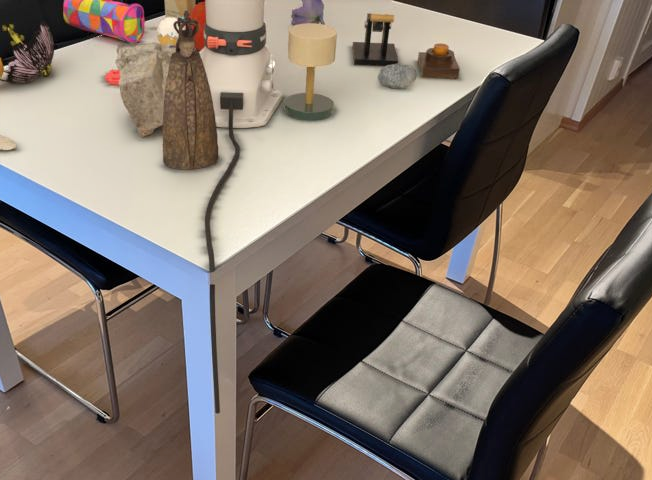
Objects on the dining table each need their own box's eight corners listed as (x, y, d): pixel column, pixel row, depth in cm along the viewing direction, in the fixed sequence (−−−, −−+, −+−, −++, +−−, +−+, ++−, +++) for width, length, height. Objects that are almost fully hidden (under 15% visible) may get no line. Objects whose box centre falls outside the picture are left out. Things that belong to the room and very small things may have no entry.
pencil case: (61, -20, 163) (90, -12, 170) (56, 22, 167) (85, 28, 174) (126, 0, 154) (153, 7, 162) (119, 44, 158) (147, 49, 165)
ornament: (150, 42, 155) (157, 5, 154) (160, 51, 162) (166, 16, 161) (179, 48, 155) (186, 11, 153) (187, 57, 162) (193, 22, 160)
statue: (188, 177, 115) (177, 17, 98) (158, 163, 118) (141, 6, 101) (224, 160, 120) (219, 5, 103) (194, 147, 123) (184, -5, 106)
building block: (105, 86, 143) (106, 72, 148) (144, 85, 144) (144, 71, 150) (104, 82, 142) (106, 68, 148) (143, 81, 143) (143, 67, 149)
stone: (88, 44, 122) (127, 74, 114) (172, 30, 130) (214, 57, 122) (98, 115, 131) (134, 147, 123) (175, 98, 139) (215, 127, 131)
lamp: (333, 121, 133) (340, 40, 123) (282, 119, 133) (284, 38, 123) (333, 101, 141) (339, 23, 130) (284, 99, 141) (287, 21, 130)
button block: (457, 79, 152) (461, 60, 149) (422, 77, 152) (425, 58, 149) (451, 63, 160) (455, 45, 157) (417, 61, 160) (420, 43, 157)
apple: (180, 52, 158) (176, 2, 151) (204, 39, 166) (202, -9, 158) (220, 61, 155) (218, 10, 148) (243, 47, 162) (243, -2, 155)
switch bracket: (397, 66, 157) (403, 25, 151) (354, 64, 157) (357, 23, 151) (393, 49, 166) (398, 9, 160) (352, 47, 166) (356, 8, 160)
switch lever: (393, 24, 147) (394, 11, 147) (370, 23, 147) (371, 10, 147) (387, 32, 158) (388, 20, 157) (366, 31, 158) (366, 19, 157)
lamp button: (448, 56, 152) (449, 48, 151) (433, 56, 152) (435, 47, 151) (446, 51, 155) (447, 43, 153) (432, 51, 155) (433, 43, 153)
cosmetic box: (166, 41, 165) (161, -16, 156) (175, 35, 168) (171, -20, 159) (190, 45, 163) (186, -12, 155) (198, 39, 166) (195, -16, 158)
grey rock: (416, 87, 148) (416, 62, 146) (418, 87, 145) (418, 61, 143) (377, 89, 149) (377, 65, 147) (378, 90, 146) (378, 64, 144)
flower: (344, 3, 170) (310, -21, 169) (327, 26, 167) (293, 1, 166) (333, 28, 178) (301, 5, 178) (316, 50, 176) (284, 27, 175)
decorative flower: (71, 57, 137) (70, 36, 148) (20, 12, 130) (23, -6, 141) (27, 110, 141) (29, 86, 152) (-25, 69, 134) (-19, 47, 145)
